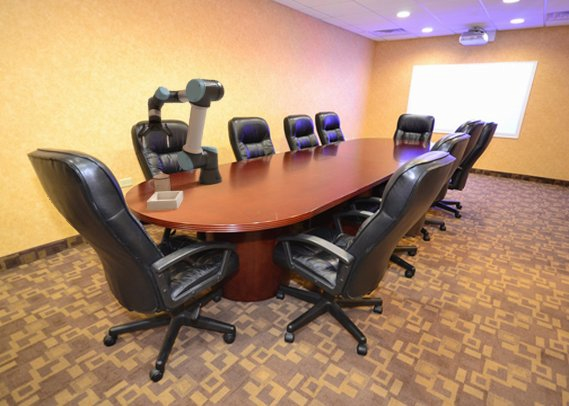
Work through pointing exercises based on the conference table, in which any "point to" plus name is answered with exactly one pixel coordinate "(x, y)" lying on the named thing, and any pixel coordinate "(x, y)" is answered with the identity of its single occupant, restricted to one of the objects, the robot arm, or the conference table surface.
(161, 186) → the teacup with lid
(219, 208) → the conference table surface
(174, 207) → the white open tray
